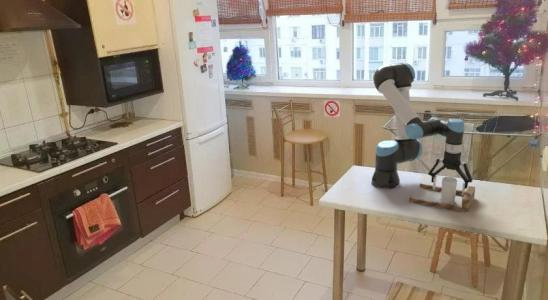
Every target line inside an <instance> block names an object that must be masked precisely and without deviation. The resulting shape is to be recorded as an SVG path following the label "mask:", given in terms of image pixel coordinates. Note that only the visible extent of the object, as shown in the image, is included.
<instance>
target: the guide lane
mask: <svg viewBox="0 0 548 300" xmlns="http://www.w3.org/2000/svg"><path fill="white" fill-rule="evenodd" d="M419 189H425V190H429V191H430V190H431V191H436V192H440V191H442V186H438V185H436V188H435V189H433V184H432V185H430V184H425V183H419ZM465 192H466V190H465ZM465 192H464V194H465ZM455 195H459V196H462V197H463V196H464V195H462V189H460V190H459V189H456V194H455ZM408 201H409V202H410V203H415V204H419V205H424V206H430V207H435V208H439V209H444V210H448V211H449V210H450V211H455V212H460V213H461V212H462V210H461V208H462V206H458V205H453V204H445V203H442V202H438V201H433V200H427V199H421V198H418V197H413V196H412V197H411V196H410V197H409V199H408Z"/></svg>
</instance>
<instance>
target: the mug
mask: <svg viewBox="0 0 548 300" xmlns="http://www.w3.org/2000/svg"><path fill="white" fill-rule="evenodd" d="M457 186H458V179H457V178H456V177H452V176H443V177H442V178H441V187H442V191H441V194H440V195H441V196H440V201H441V202H440V203H443V204H449V205H453V204H455V202H456V201H455V200H456V195H457V194H456V190H457Z"/></svg>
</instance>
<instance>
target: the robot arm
mask: <svg viewBox="0 0 548 300" xmlns="http://www.w3.org/2000/svg"><path fill="white" fill-rule="evenodd" d="M415 79H416V72H415V69H414V67H413V65H411V64H410V63H408V62H399V63H398V62H397V63H390V64H383V65H381V66H379V67H377V69H376V70H375V71H374V74H373V85H374V87H375V89H376V90H377V91H378V93H379V94H382V96H384V98H385V99H386V101H387V102H388V103H389V105H390V106H391V107H392V109H393V110H394V118H395V128H396V136H395V138H394V140H390V139H389V140H383V141H380V142H378V143H377V144H376V146H375V152H374V154H375V162H374V163H375V164H374V165H375V166H374V167H375V168H374V172H373V174H372V177H371V184H372V186H374V187H377V188H380V189H393V188H394V189H395V188H397V187H399V186H400V184H401V183H400V182H401V179H400V176H399V171H398V165H399V164H403V163H407V162H413V161H416V160H419V158H420V157H421V155H422V153H423V145H422V142H421V141H420V139H423V138H427V137H434V136H442V137H445V141H444V151H443V152H444V153H443V158H440V157H437V158H436V160H435V162H434V163H435V164H433V166H432V167H431V169H429V172H428V176H431V181H430V182H431V183H432V186H433V189H435V188H436V186H437V178H438V177H437V175H438V174H439V173H440V172H442V171H443V170H445V169H447V170H451V171H456V172H457V174H458V175H459V176H460V177H461V179H462V181H463V183H462V189H461V191H462V195H461V196H463V195H464V192H465V191H466V190H467V189H468V187H469V183H472V182H473V177H472V174H471V172H470V169H469V166H468V161H465V162H461V156H462V152H463V151H462V149H463V141H464V134H465V124H466V123H465V120H463V119H459V118H449V119H448V120H446V119H443V118H440V117H436V116H435V117H430V118H429V119H427V121H424V120H422V118H420V116H419V115H418V114H417V112H416V111H415V109H413V107H412V105H411V98H410V97H411V95H410V89H412V83H413V82H414V81H415ZM441 163H442V166H440V168H438V169H437V170H435V169H436V168H437V166H438V165H439V164H441ZM461 167H463V170H464V171H463V170H462V168H461ZM434 170H435V171H434Z"/></svg>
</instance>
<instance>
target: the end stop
mask: <svg viewBox="0 0 548 300" xmlns="http://www.w3.org/2000/svg"><path fill="white" fill-rule="evenodd" d="M465 191H466V192H465V194H464V196H463V195H462V199H461V212H462V211H463V212H469V210H470V208H471V206H472V204H473V202H474V199H475V194H476V193H475V192H476V186H472V185H468V187H467V189H465Z"/></svg>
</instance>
